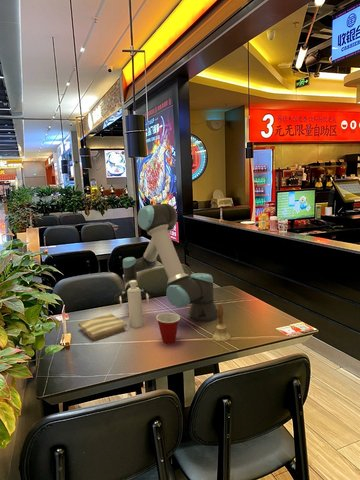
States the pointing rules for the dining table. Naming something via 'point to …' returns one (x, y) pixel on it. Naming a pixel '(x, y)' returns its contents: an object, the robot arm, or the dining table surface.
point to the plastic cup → (168, 326)
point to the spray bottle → (135, 305)
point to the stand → (102, 326)
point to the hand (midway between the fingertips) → (134, 301)
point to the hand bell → (221, 327)
